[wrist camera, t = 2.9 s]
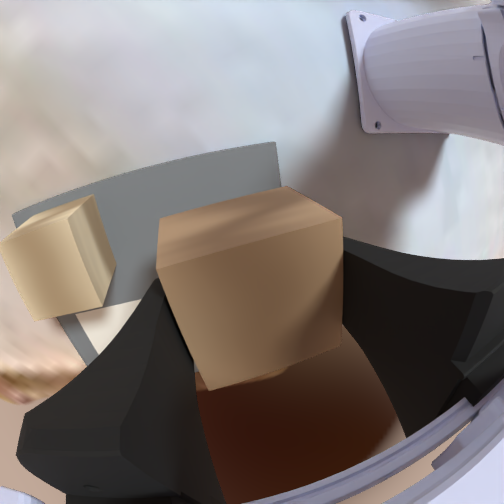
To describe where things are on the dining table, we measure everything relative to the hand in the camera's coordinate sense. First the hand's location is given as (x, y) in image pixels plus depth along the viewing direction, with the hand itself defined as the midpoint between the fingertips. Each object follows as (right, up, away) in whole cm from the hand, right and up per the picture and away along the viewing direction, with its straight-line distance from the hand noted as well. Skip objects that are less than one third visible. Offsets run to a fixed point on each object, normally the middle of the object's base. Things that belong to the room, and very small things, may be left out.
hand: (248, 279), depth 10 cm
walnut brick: (-1, +1, +1) cm, 2 cm away
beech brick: (-9, +2, +3) cm, 10 cm away
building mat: (-5, -1, +6) cm, 8 cm away
